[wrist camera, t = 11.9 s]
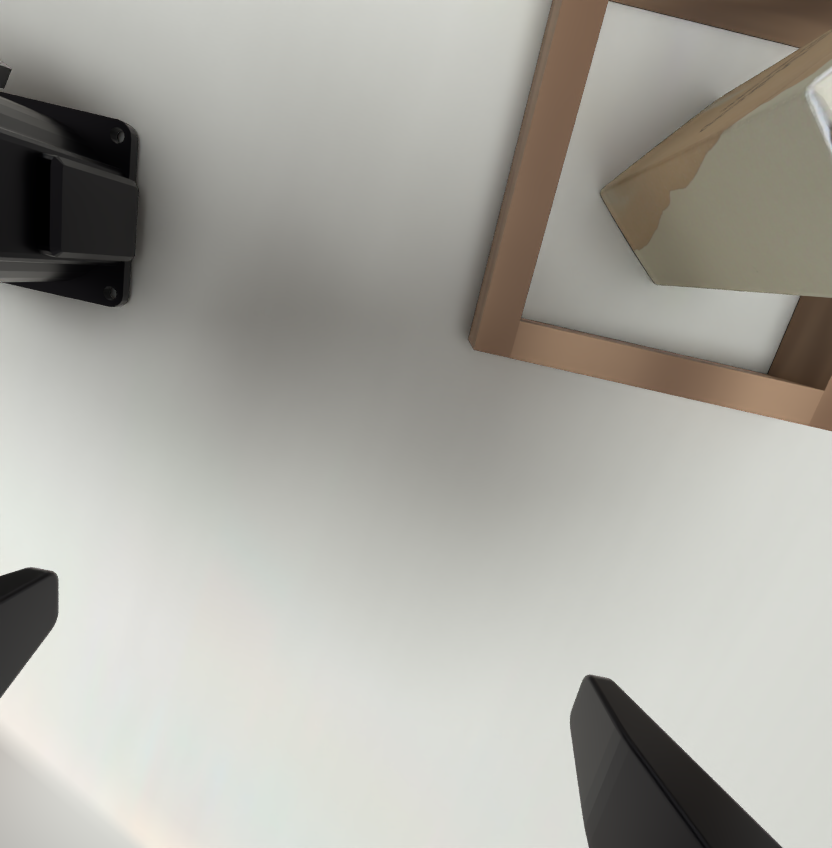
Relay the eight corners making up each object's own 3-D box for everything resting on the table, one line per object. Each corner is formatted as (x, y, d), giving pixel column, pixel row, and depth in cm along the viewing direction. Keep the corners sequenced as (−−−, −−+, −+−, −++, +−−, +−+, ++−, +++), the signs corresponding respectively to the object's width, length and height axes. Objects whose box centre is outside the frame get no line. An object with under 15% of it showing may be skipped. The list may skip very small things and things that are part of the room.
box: (722, 94, 17) (1187, -203, 7) (780, 202, 18) (1274, 93, 7) (589, 197, 18) (806, 83, 8) (651, 294, 19) (922, 314, 8)
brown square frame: (467, 339, 20) (473, 349, 17) (567, -59, 16) (595, -133, 13) (784, 411, 20) (843, 433, 17) (951, 37, 17) (1060, -14, 14)
